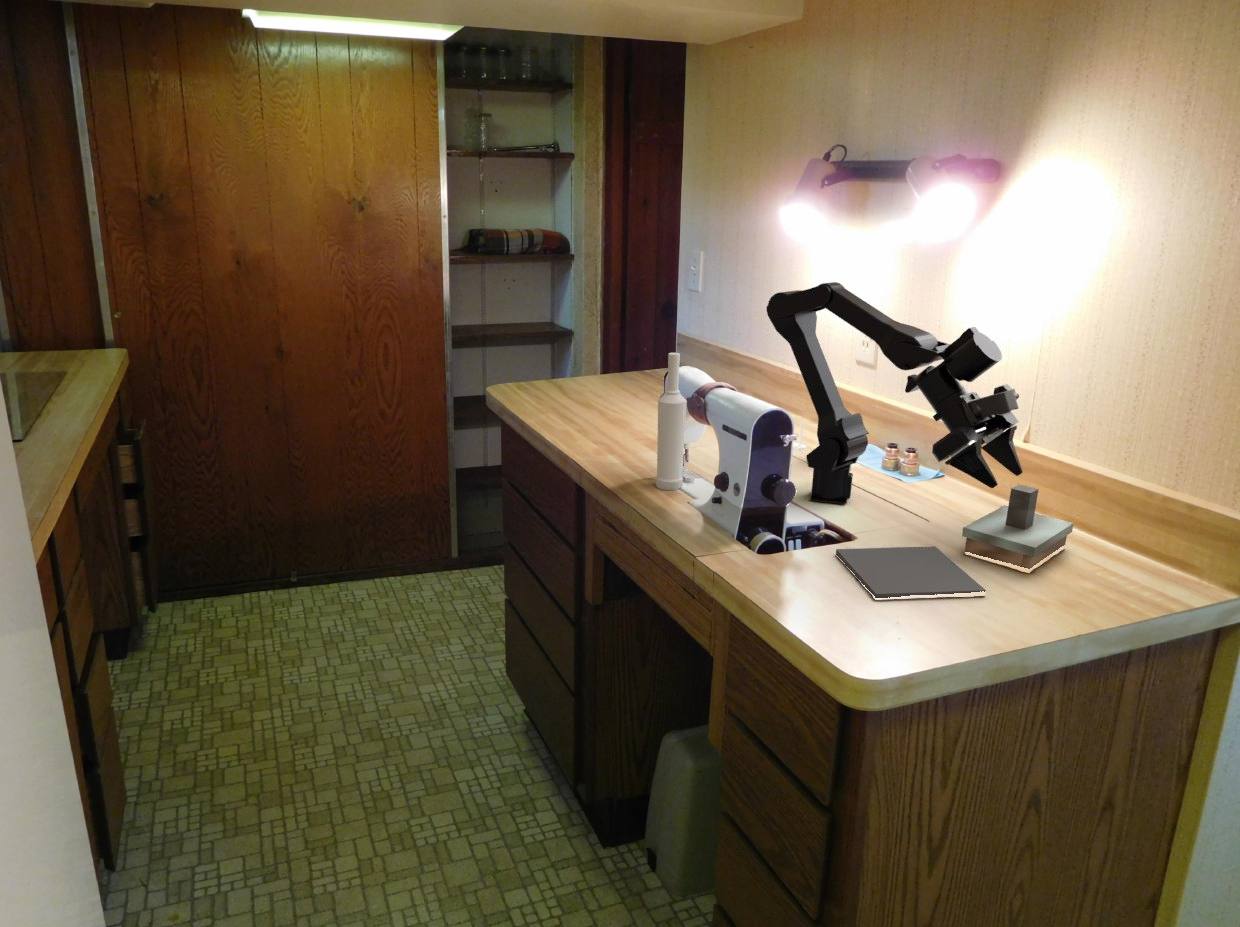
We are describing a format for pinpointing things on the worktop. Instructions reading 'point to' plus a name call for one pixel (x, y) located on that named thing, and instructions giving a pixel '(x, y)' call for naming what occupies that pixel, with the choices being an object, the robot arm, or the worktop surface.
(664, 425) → the bottle
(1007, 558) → the brown wooden flat frame
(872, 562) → the rubber mat
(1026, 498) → the lid
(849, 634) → the worktop surface
